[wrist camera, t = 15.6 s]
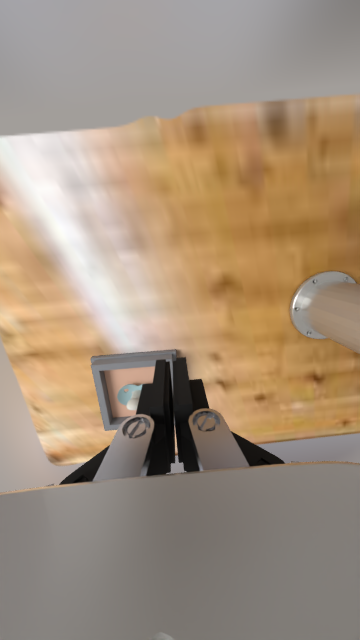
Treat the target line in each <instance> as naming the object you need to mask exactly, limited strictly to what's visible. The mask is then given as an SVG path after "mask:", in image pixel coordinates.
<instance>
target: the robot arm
mask: <svg viewBox="0 0 360 640" xmlns="http://www.w3.org/2000/svg"><path fill="white" fill-rule="evenodd" d="M290 317H291V320H292V323H293V325H294V327H295V328H296V329H297V330H298V331H299V332H300V333H302V334H303V335H305V336H307V337H310V338H313V339H326V338H330V339H331V340H333V341H335V342H337V343H339V344H341V345H343V346H345V347H347V348H349V349H351V350H353V351H355V352H357V353H359V354H360V284H357V283H356V282H355V280H354V279H352V278H351V277H350V276H349V275H347V274H345V273H341V272H335V271H327V272H322V273H318V274H316V275H314V276H311V277H310V278H309V279H307V280H306V281H305V282H304V283H302V284H301V285H300V287H299V288H298V289H297V291H296V292H295V294H294V296H293V298H292V301H291V306H290ZM174 418H175V428H176V438H177V449H178V459H179V463H181V462H183V464H184V471H187V472H184V473H174V474H166V473H169V472H170V471H171V463H175V431H174ZM0 640H360V464H359V463H352V462H336V461H322V462H294V461H291V463H287V464H285V463H284V462H283V461H282V460H281V459H279V458H278V457H276V456H275V455H273V454H271V453H269V452H267V451H266V450H264V449H262V448H260V447H259V446H257V445H255V444H253V443H251V442H250V441H248V440H246V439H244V438H242V437H240V436H239V435H237V434H235V433H233V432H231V431H230V429H229V427H228V425H227V424H226V422H225V420H224V418H223V416H222V415H221V414H220V413H219V412H217V411H215V410H213V409H209V406H208V402H207V398H206V394H205V390H204V386H203V382H202V379H196V380H189V377H188V371H187V364H186V357H184V358H176V361H173V390H172V380H171V369H170V361H167V362H166V359H161V360H156V364H155V371H154V378H153V383H150V384H143V385H142V389H141V393H140V398H139V402H138V406H137V411H136V415H134V416H131V417H129V418H127V419H126V420H124V421H123V422H122V424H121V425H120V426H119V428H118V430H117V432H116V435H115V437H114V439H113V441H112V443H111V445H109V446H108V447H107V448H105V449H104V450H103V451H101V452H100V453H99V454H97V455H96V456H94V457H93V458H92V459H90V460H89V461H88V462H86V463H85V464H84V465H82V466H81V467H80V468H78V469H77V470H76V471H74V472H73V473H71V474H70V475H69V476H68V477H66V478H65V479H64V480H63V481H62V482H61V483H60V484H59V485H56V486H54V484H51V485H48V486H45V487H37V488H30V489H23V490H15V491H9V492H1V493H0Z"/></svg>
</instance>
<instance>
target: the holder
mask: <svg viewBox="0 0 360 640" xmlns="http://www.w3.org/2000/svg"><path fill="white" fill-rule="evenodd" d="M161 359H166V362H167V361H170V369H171V380H172V390H173V361H176V349H175V350H163V351H151V352H139V353H126V354H114V355H102V356H92V358H91V363H92V365H91V368H92V373H93V377H94V382H95V387H96V391H97V396H98V401H99V406H100V410H101V415H102V420H103V424H104V429H105V431H108V430H118V428H119V426H120V425H121V424H122V422H123V421H124V420H126V419H127V418H129V417H131V416H134V415H136V411H137V410H128V409H127V406H126V405H123V404H121V403H120V402H119V401H118V399H117V395H118V392H119V390H120V389H121V388H122V387H123V386H125V385H127V384H135V385H141V384H150V383H153V378H154V371H155V364H156V360H161ZM124 391H125V392H127V391H128V389H125V390H124ZM174 425H175V418H174Z"/></svg>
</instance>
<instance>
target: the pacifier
mask: <svg viewBox="0 0 360 640" xmlns="http://www.w3.org/2000/svg"><path fill="white" fill-rule="evenodd" d="M142 385H143V384H141V385H135V384H127V385H125V386H123V387H122V388H121V389H120V390H119V392H118V395H117V399H118V401H119V402H120V403H121V404H123V405H126V406H127V409H128V410H137V406H138V402H139V398H140V393H141V389H142ZM125 389H128V391H127V392H125V391H124V390H125Z"/></svg>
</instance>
